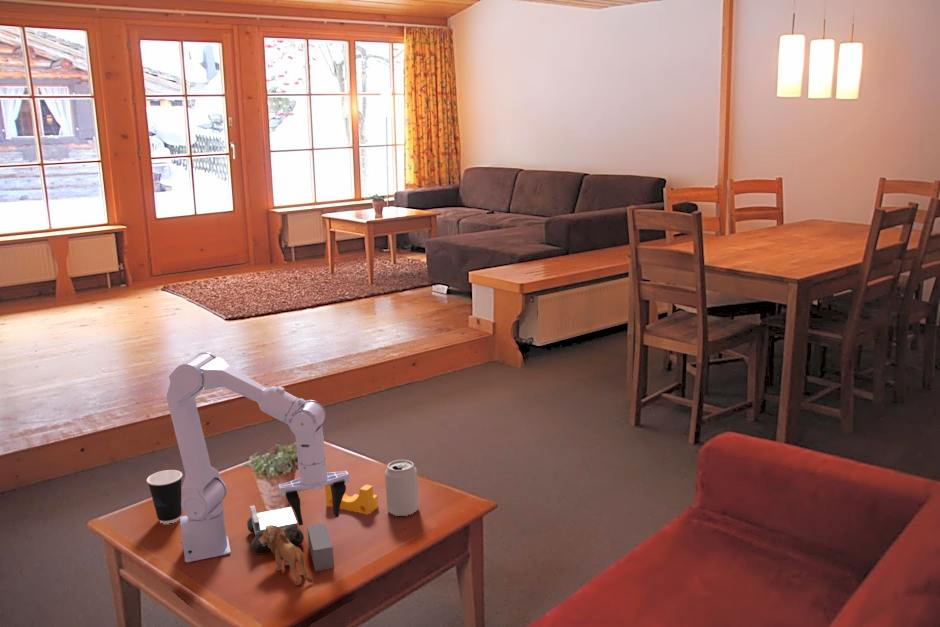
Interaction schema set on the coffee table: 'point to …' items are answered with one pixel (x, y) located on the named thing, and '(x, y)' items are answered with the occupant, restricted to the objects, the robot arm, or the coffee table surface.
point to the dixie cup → (166, 495)
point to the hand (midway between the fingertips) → (318, 519)
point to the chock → (320, 547)
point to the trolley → (279, 518)
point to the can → (401, 488)
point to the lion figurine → (284, 551)
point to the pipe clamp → (356, 500)
